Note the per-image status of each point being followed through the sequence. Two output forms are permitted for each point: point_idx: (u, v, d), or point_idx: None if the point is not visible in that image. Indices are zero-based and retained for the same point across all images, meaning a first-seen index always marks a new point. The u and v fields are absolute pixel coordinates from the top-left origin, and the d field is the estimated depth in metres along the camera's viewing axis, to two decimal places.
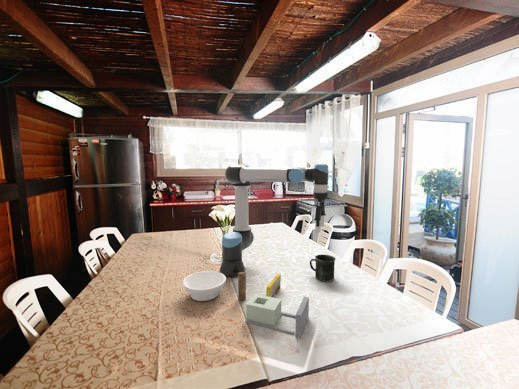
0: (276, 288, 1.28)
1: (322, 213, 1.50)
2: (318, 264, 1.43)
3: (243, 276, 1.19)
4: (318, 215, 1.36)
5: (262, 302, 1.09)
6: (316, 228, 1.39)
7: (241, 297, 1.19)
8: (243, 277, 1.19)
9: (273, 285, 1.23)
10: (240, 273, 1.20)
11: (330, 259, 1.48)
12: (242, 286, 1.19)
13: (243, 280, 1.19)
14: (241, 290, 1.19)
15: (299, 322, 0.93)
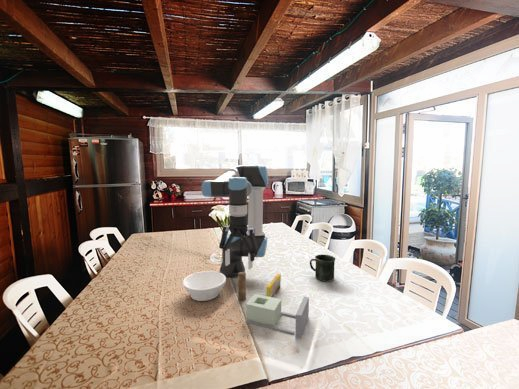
0: (276, 288, 1.28)
1: None
2: (318, 264, 1.43)
3: (243, 276, 1.19)
4: None
5: (262, 302, 1.09)
6: None
7: (241, 297, 1.19)
8: (243, 277, 1.19)
9: (273, 285, 1.23)
10: (240, 273, 1.20)
11: (330, 259, 1.48)
12: (242, 286, 1.19)
13: (243, 280, 1.19)
14: (241, 290, 1.19)
15: (299, 322, 0.93)
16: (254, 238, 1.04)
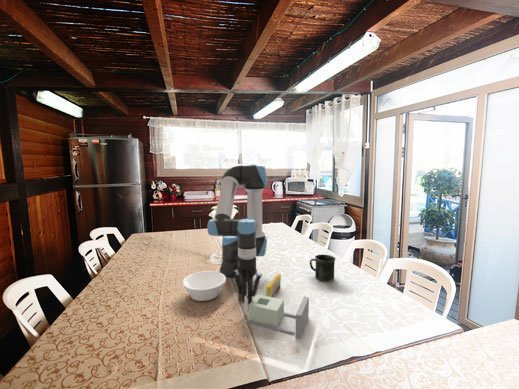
0: (276, 288, 1.28)
1: None
2: (318, 264, 1.43)
3: None
4: None
5: (264, 302, 1.08)
6: None
7: (241, 297, 1.19)
8: None
9: (273, 285, 1.23)
10: None
11: (330, 259, 1.48)
12: None
13: None
14: None
15: (299, 322, 0.93)
16: (258, 283, 1.06)
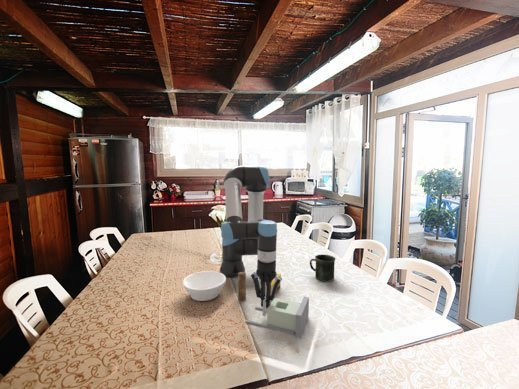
0: None
1: None
2: (318, 264, 1.43)
3: (243, 276, 1.19)
4: None
5: (282, 306, 1.05)
6: None
7: (241, 297, 1.19)
8: (243, 277, 1.19)
9: (273, 285, 1.23)
10: (240, 273, 1.20)
11: (330, 259, 1.48)
12: (242, 286, 1.19)
13: (243, 280, 1.19)
14: (241, 290, 1.19)
15: (299, 322, 0.93)
16: (277, 287, 1.03)
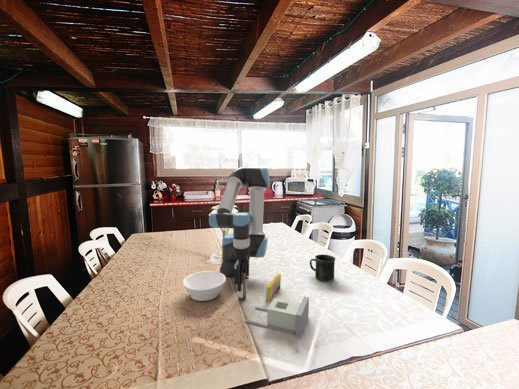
0: (276, 288, 1.28)
1: None
2: (318, 264, 1.43)
3: (243, 276, 1.19)
4: (237, 280, 1.15)
5: (282, 306, 1.05)
6: (238, 292, 1.19)
7: None
8: (243, 277, 1.19)
9: (273, 285, 1.23)
10: None
11: (330, 259, 1.48)
12: None
13: (243, 280, 1.19)
14: None
15: (299, 322, 0.93)
16: None
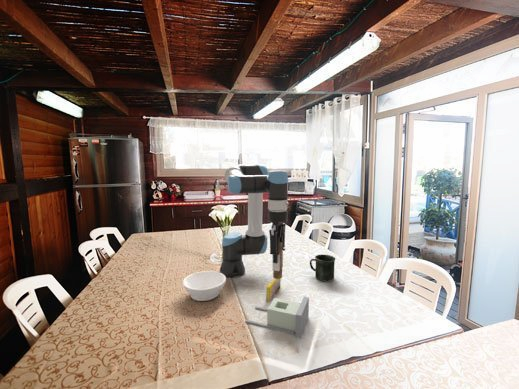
0: (276, 288, 1.28)
1: None
2: (318, 264, 1.43)
3: (280, 245, 1.00)
4: (274, 249, 0.96)
5: (282, 306, 1.05)
6: (273, 265, 1.00)
7: (277, 271, 1.01)
8: (280, 246, 1.00)
9: (273, 285, 1.23)
10: None
11: (330, 259, 1.48)
12: None
13: (280, 250, 1.00)
14: None
15: (299, 322, 0.93)
16: None
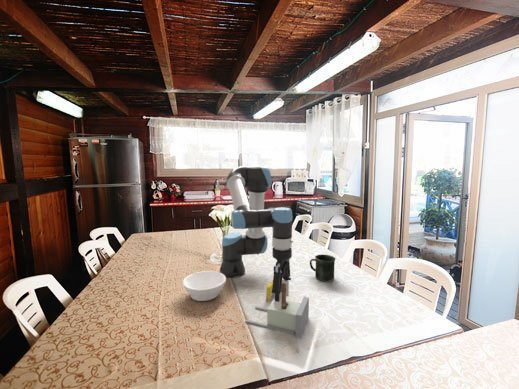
0: None
1: (286, 277, 1.06)
2: (318, 264, 1.43)
3: (284, 288, 1.01)
4: (276, 287, 0.94)
5: None
6: (275, 303, 0.98)
7: None
8: (284, 289, 1.01)
9: None
10: None
11: (330, 259, 1.48)
12: (282, 300, 1.01)
13: (284, 293, 1.01)
14: (282, 305, 1.01)
15: (299, 322, 0.93)
16: None
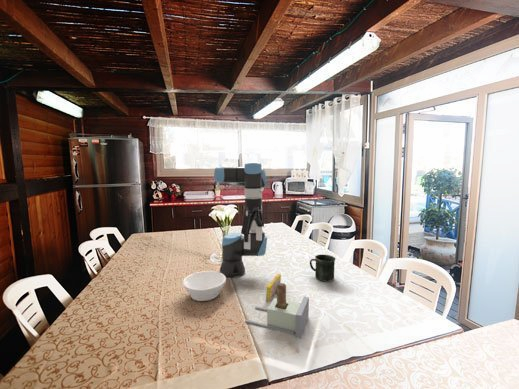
0: (276, 288, 1.28)
1: (259, 224, 1.21)
2: (318, 264, 1.43)
3: (283, 288, 1.01)
4: (245, 228, 1.06)
5: None
6: (245, 244, 1.09)
7: None
8: (283, 289, 1.01)
9: (273, 285, 1.23)
10: (279, 285, 1.02)
11: (330, 259, 1.48)
12: (282, 300, 1.01)
13: (283, 293, 1.01)
14: (282, 305, 1.01)
15: (299, 322, 0.93)
16: None
